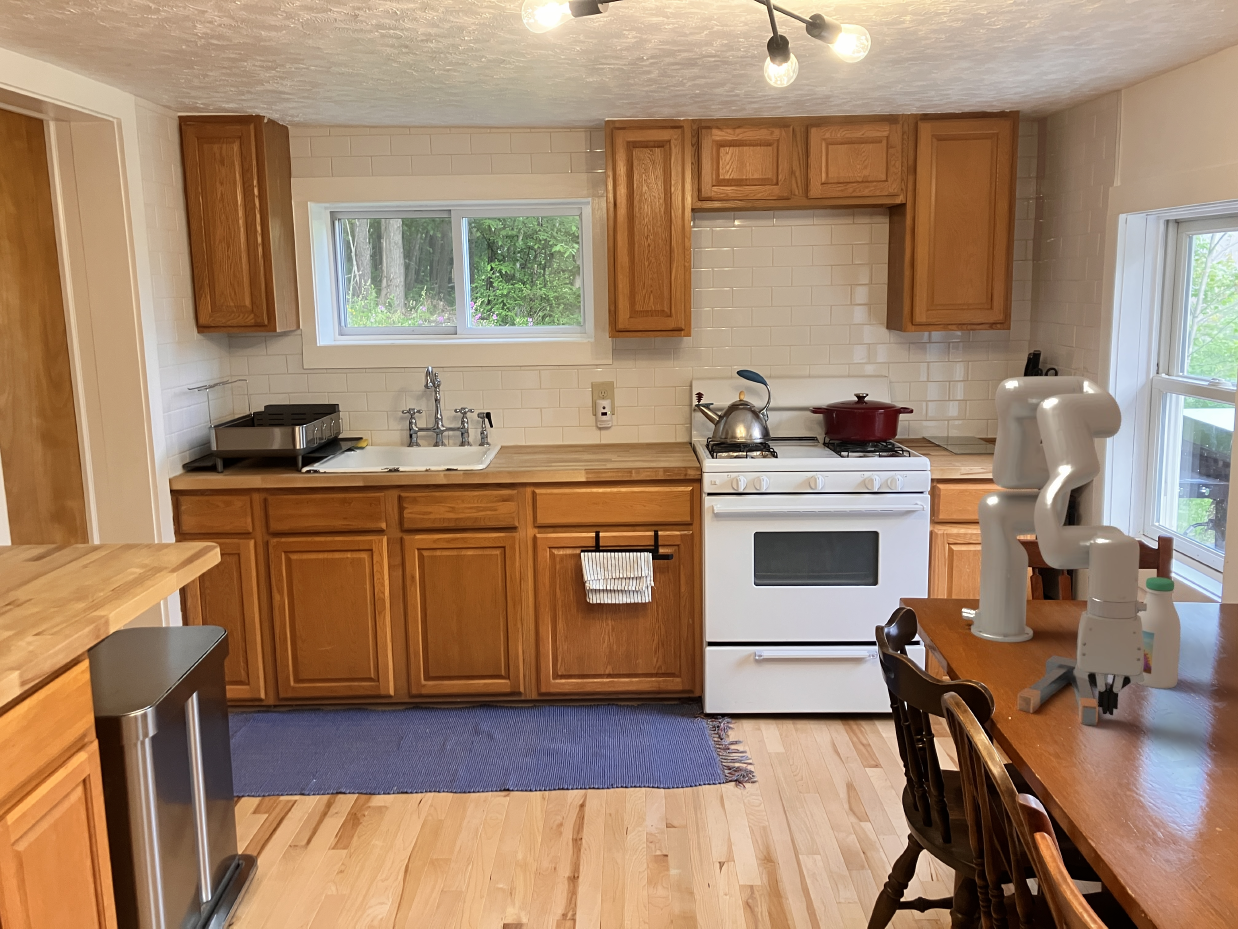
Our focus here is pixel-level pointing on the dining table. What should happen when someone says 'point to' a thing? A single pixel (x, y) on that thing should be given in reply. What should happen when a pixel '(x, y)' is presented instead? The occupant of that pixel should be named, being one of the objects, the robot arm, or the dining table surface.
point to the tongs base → (1049, 683)
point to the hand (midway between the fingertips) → (1107, 711)
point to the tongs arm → (1085, 701)
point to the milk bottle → (1160, 635)
